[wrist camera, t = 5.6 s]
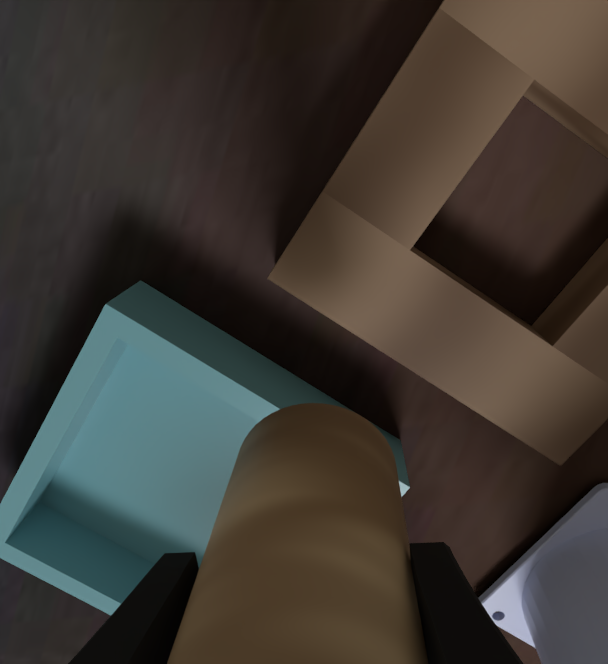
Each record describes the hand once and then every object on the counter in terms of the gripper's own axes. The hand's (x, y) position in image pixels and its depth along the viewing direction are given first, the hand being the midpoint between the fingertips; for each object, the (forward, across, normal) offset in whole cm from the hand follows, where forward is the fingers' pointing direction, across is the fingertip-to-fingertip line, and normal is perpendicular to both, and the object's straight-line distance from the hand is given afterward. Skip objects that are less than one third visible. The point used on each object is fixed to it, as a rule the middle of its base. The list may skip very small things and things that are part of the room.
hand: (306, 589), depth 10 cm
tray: (+10, +5, +4) cm, 12 cm away
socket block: (+10, -7, -5) cm, 14 cm away
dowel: (+3, 0, 0) cm, 3 cm away
